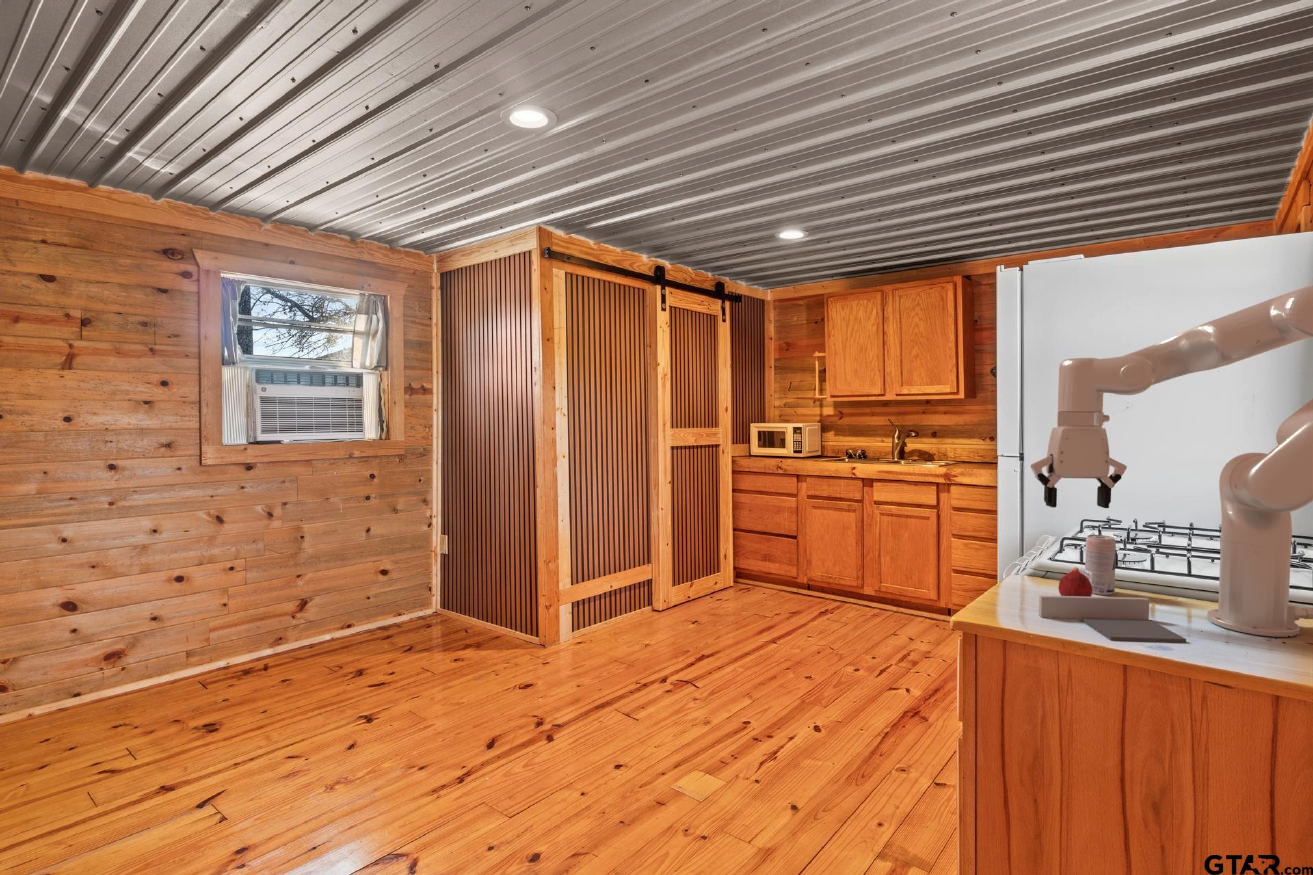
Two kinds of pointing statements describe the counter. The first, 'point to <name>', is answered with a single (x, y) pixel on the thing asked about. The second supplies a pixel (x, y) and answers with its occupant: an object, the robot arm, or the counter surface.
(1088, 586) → the onion
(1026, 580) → the counter surface
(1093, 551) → the energy drink
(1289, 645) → the counter surface
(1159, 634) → the rubber mat
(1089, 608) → the low wall
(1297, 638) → the counter surface
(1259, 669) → the counter surface
